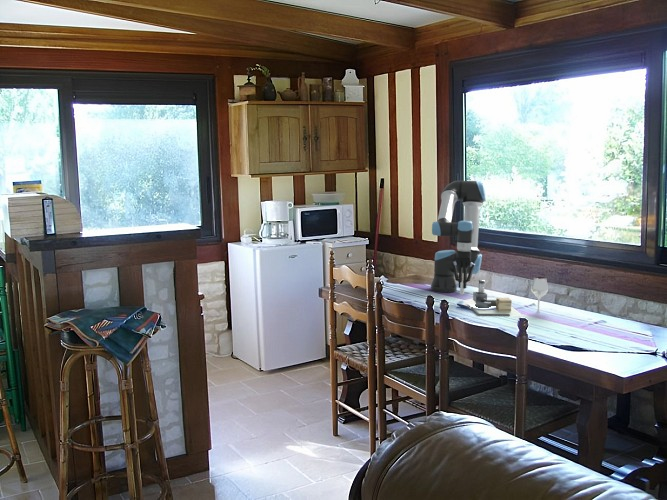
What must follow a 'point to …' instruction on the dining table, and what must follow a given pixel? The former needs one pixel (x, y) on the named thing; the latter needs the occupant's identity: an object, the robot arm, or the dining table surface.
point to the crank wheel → (483, 300)
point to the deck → (496, 312)
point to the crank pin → (481, 286)
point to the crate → (503, 304)
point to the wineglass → (539, 288)
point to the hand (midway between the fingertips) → (462, 294)
